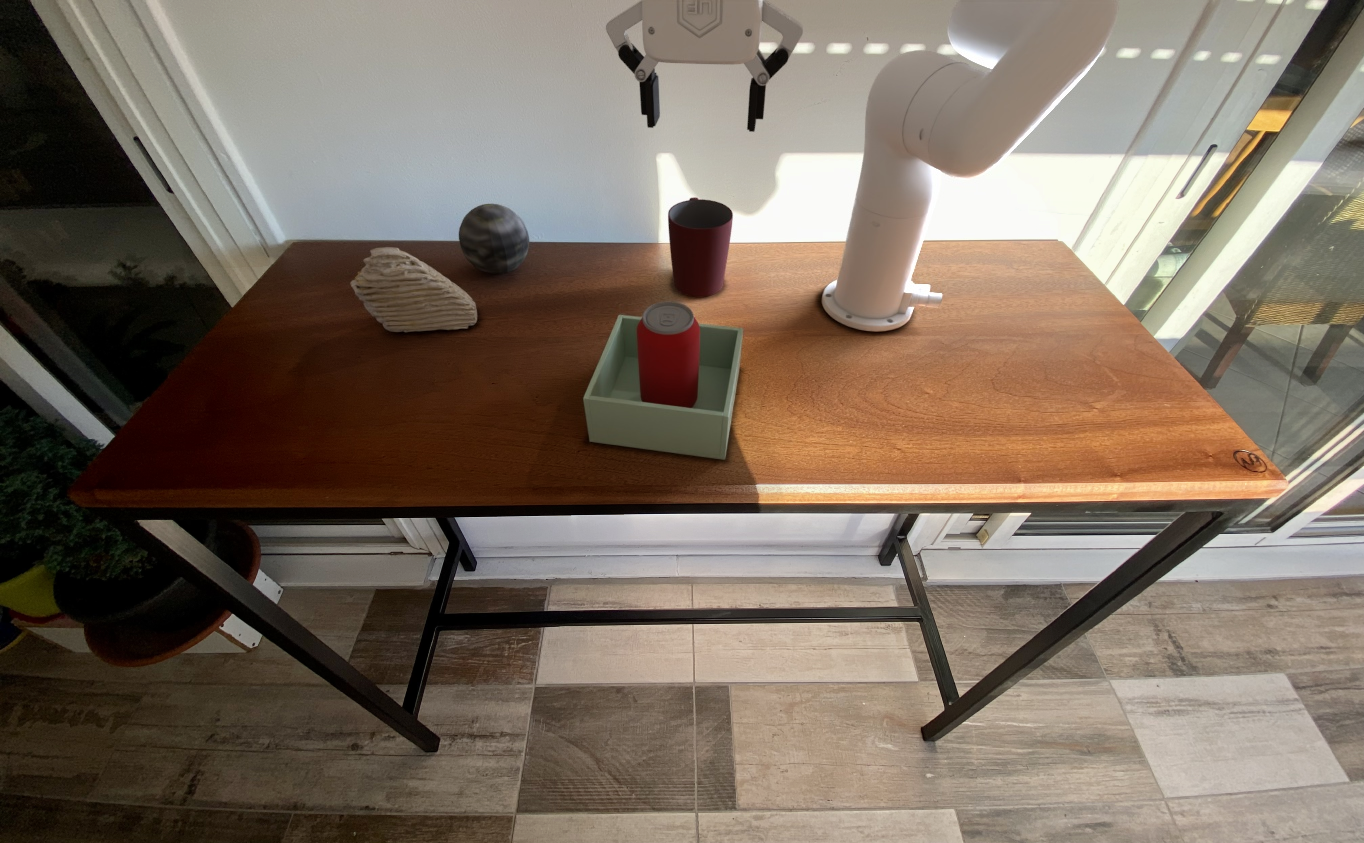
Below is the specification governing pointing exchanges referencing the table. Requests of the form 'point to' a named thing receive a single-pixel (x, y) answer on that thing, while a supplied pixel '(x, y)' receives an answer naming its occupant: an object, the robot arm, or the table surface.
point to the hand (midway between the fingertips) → (702, 124)
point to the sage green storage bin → (657, 426)
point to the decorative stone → (494, 238)
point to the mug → (699, 245)
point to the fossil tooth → (411, 294)
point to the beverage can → (668, 355)
